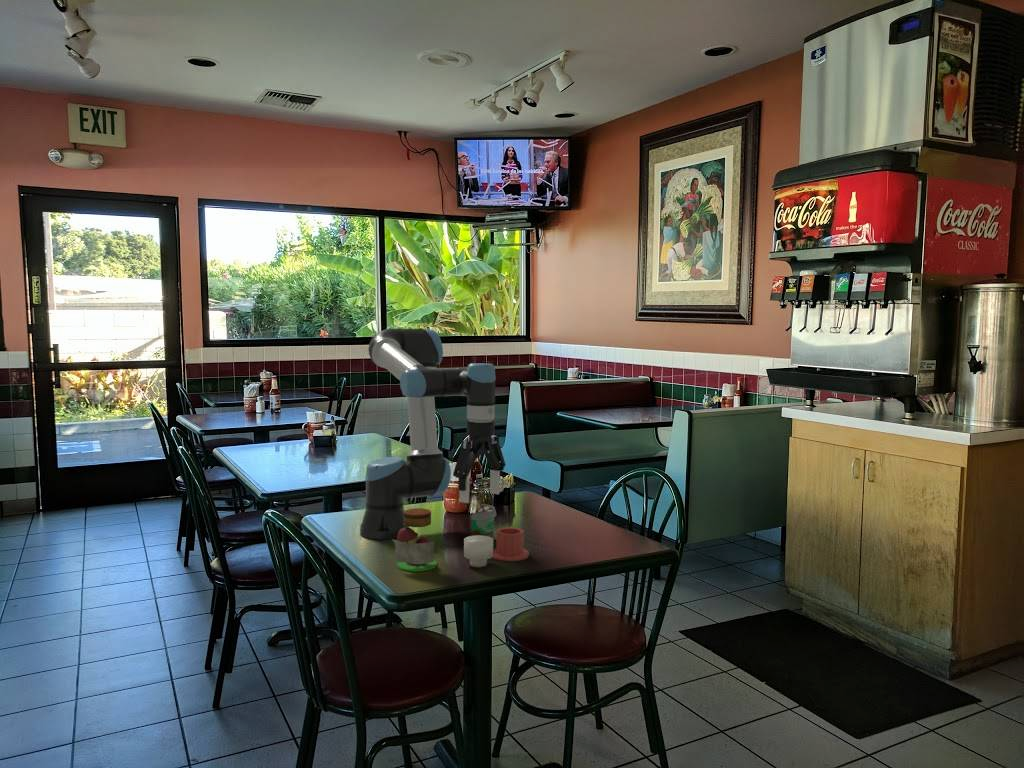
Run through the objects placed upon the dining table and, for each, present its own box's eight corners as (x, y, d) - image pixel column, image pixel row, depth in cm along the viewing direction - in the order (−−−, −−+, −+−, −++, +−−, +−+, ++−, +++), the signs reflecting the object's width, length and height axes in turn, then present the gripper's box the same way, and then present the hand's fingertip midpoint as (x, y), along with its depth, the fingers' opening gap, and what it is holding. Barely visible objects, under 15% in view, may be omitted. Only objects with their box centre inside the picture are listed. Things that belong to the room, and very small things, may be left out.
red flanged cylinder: (482, 556, 213) (483, 532, 212) (505, 547, 222) (505, 524, 221) (514, 563, 206) (514, 538, 206) (536, 554, 215) (536, 530, 215)
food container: (491, 547, 221) (491, 514, 220) (470, 546, 222) (471, 513, 222) (500, 536, 233) (500, 504, 233) (480, 534, 235) (481, 503, 234)
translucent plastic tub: (393, 559, 209) (393, 506, 208) (439, 558, 210) (439, 506, 209) (389, 573, 197) (389, 517, 196) (437, 572, 198) (438, 517, 197)
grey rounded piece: (457, 565, 205) (458, 540, 204) (475, 558, 211) (476, 533, 211) (480, 571, 200) (481, 545, 199) (498, 563, 206) (499, 538, 206)
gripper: (462, 426, 190) (461, 508, 192) (518, 417, 211) (517, 491, 212) (440, 423, 195) (439, 504, 196) (496, 415, 215) (495, 488, 216)
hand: (479, 497), depth 204 cm, fingers open, 13 cm apart
